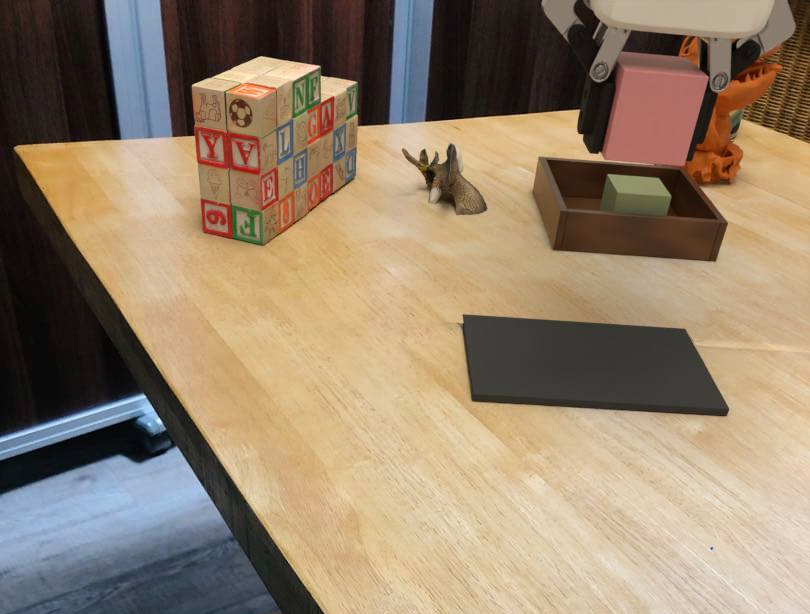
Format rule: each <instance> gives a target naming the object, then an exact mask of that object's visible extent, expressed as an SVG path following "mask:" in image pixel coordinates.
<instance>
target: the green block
mask: <svg viewBox="0 0 810 614" xmlns="http://www.w3.org/2000/svg"><path fill="white" fill-rule="evenodd" d="M671 197H672V196H671V195H670V193H669V192H668V190H667V189H666V188H665V186H664V185H663V183H662V182H661V180H660V179H659V178H652V177H639V176H626V175H612V174H607V178H606V182H605V187H604V191H603V196H602V200H601V205H600V210H599V211H606V212H620V213H634V214H648V215H661V216H666V215H667V212H668V208H669V204H670V201H671Z"/></svg>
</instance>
